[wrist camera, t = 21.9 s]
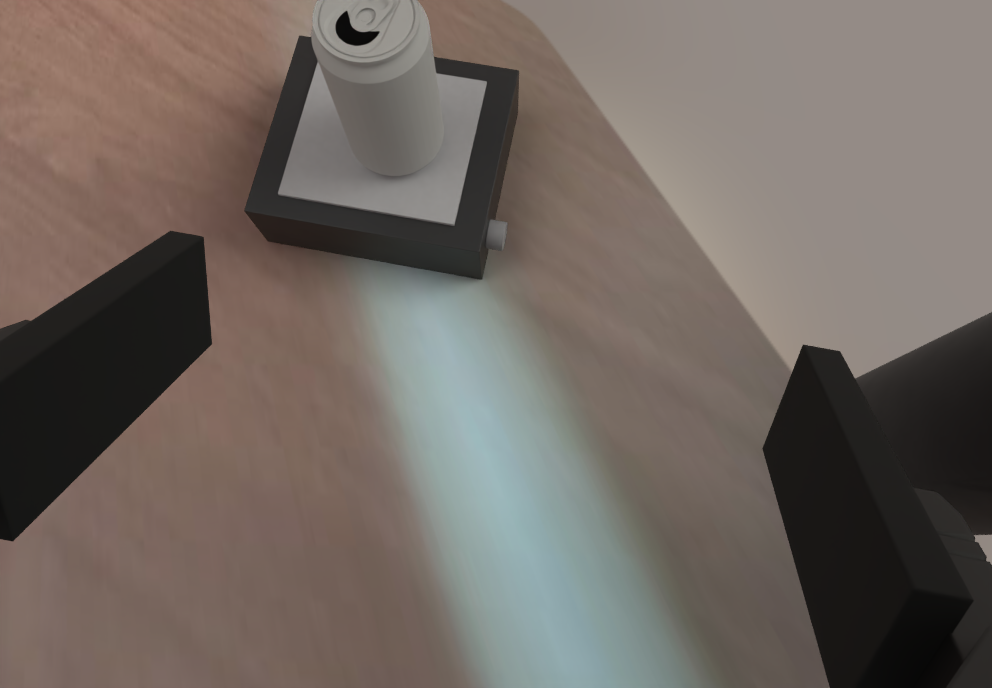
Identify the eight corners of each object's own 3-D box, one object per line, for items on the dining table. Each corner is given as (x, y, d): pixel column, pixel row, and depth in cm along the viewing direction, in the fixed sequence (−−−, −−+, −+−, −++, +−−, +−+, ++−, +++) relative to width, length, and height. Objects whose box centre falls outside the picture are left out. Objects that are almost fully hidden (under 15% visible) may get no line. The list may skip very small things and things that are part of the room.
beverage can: (331, 148, 49) (278, 27, 38) (390, 82, 51) (356, -56, 39) (406, 199, 48) (374, 89, 37) (464, 129, 50) (451, 2, 38)
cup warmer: (533, 113, 56) (536, 70, 51) (498, 282, 52) (497, 254, 47) (316, 78, 57) (298, 32, 52) (267, 241, 53) (242, 208, 48)
